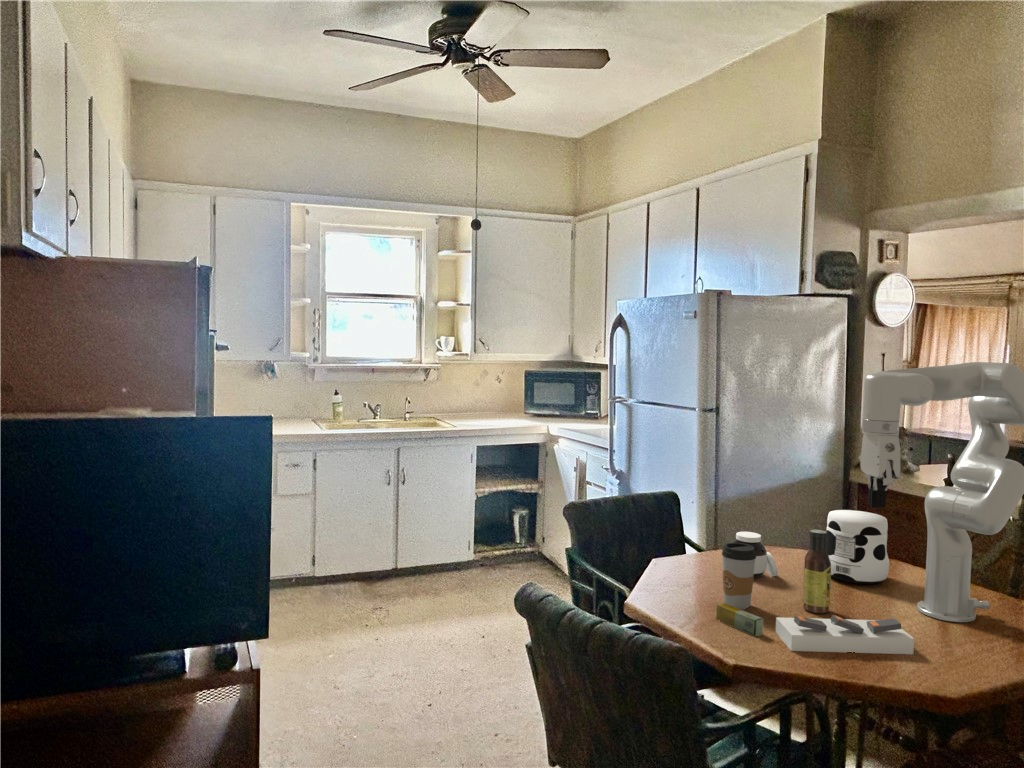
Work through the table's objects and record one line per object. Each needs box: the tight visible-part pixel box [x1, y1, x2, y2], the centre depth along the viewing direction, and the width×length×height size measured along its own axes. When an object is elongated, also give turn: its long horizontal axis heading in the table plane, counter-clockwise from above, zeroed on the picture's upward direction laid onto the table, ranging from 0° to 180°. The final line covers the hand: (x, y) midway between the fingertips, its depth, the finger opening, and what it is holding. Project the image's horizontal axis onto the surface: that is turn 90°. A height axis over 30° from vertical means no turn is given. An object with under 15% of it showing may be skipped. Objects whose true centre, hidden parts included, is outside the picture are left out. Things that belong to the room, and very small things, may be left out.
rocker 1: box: [793, 615, 827, 631], centre depth 159 cm, size 6×3×1 cm, turn 89°
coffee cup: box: [721, 542, 756, 610], centre depth 183 cm, size 8×8×15 cm
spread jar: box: [732, 531, 779, 579], centre depth 207 cm, size 12×11×12 cm
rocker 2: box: [867, 617, 903, 633], centre depth 158 cm, size 6×3×1 cm, turn 88°
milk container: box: [826, 509, 890, 585], centre depth 206 cm, size 17×17×18 cm
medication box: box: [715, 602, 764, 637], centre depth 169 cm, size 12×3×4 cm, turn 32°
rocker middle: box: [829, 614, 864, 634], centre depth 158 cm, size 6×3×1 cm, turn 89°
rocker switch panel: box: [775, 617, 915, 655], centre depth 161 cm, size 26×10×4 cm, turn 89°
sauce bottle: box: [802, 529, 832, 614], centre depth 180 cm, size 7×6×20 cm
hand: (876, 506), depth 167 cm, fingers closed
